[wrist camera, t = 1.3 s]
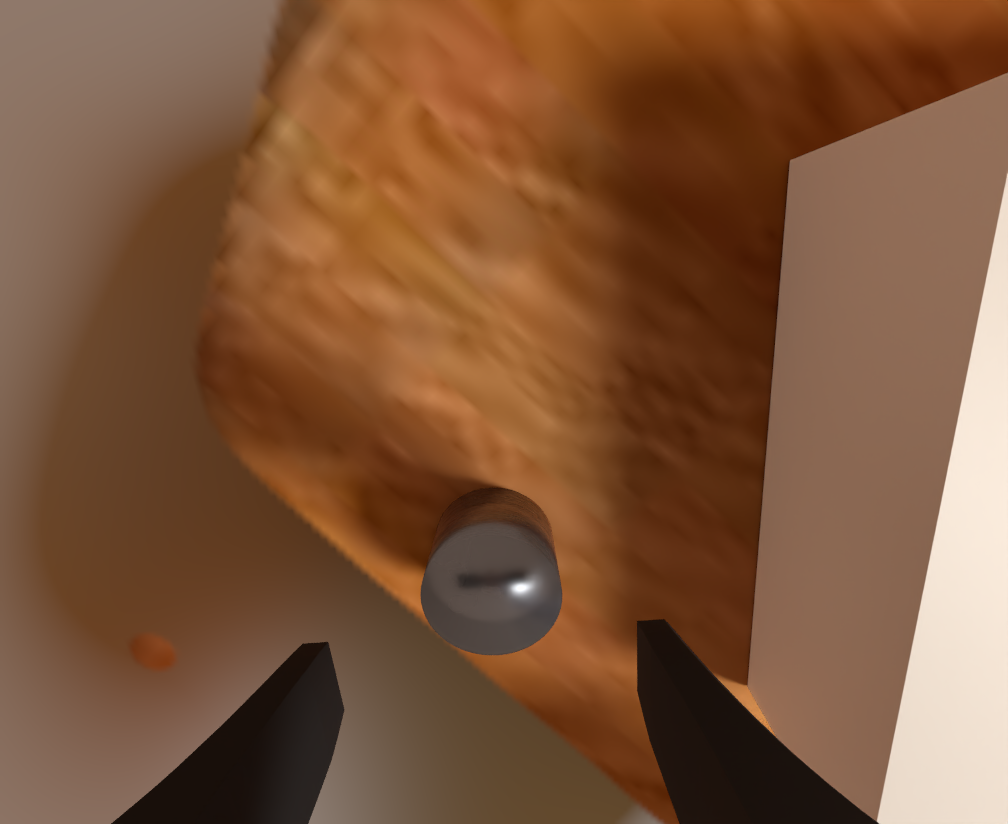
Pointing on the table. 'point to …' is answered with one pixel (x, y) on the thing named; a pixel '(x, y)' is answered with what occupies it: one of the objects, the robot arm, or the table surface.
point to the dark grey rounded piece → (492, 574)
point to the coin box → (893, 468)
